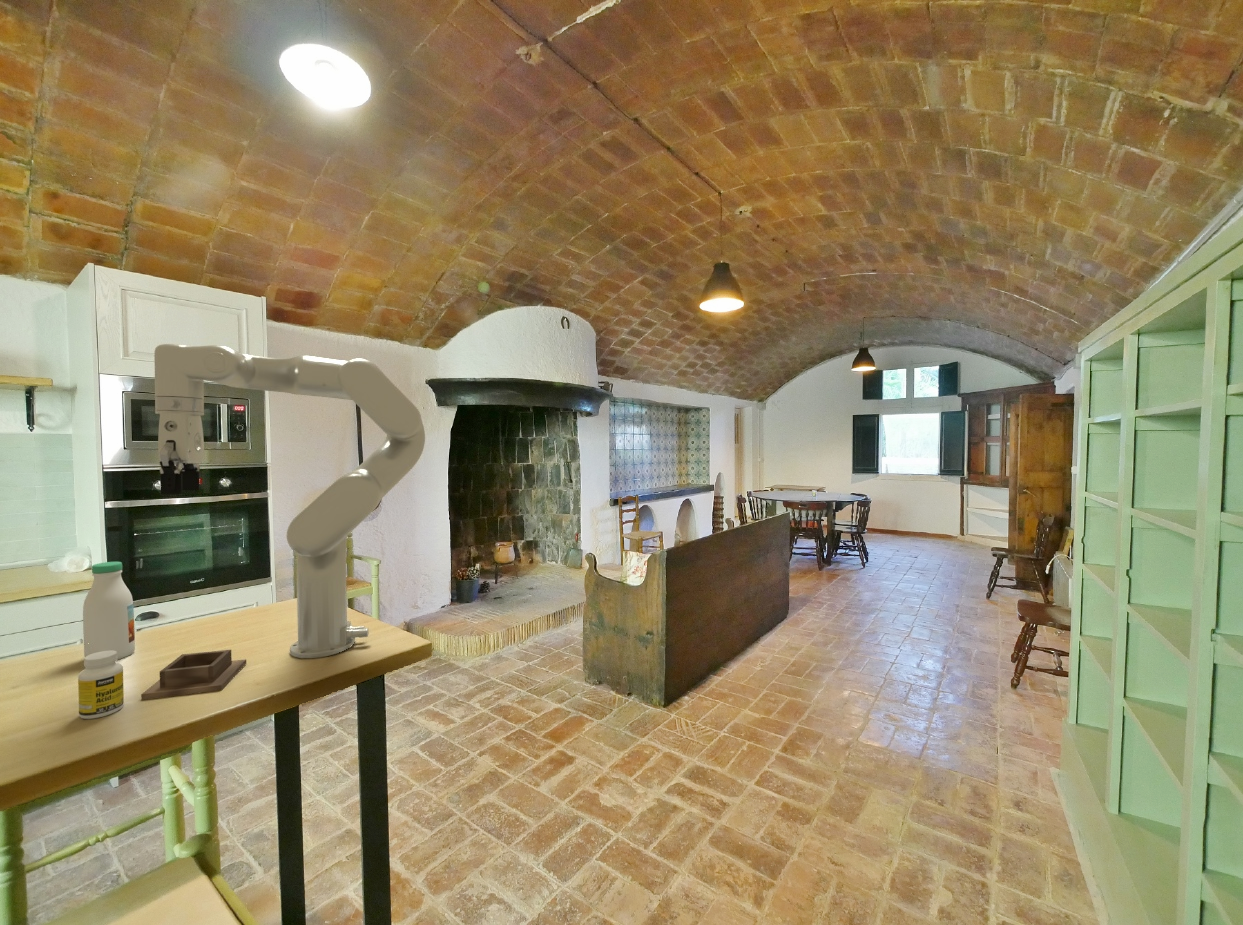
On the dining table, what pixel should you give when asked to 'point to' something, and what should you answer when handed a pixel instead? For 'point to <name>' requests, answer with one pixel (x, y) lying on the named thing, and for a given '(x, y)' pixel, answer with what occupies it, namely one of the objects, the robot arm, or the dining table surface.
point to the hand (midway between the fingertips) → (181, 492)
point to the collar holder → (195, 674)
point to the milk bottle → (108, 613)
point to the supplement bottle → (100, 685)
